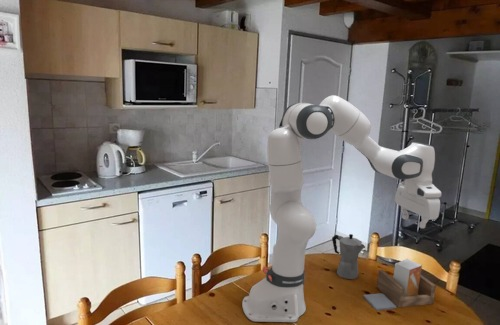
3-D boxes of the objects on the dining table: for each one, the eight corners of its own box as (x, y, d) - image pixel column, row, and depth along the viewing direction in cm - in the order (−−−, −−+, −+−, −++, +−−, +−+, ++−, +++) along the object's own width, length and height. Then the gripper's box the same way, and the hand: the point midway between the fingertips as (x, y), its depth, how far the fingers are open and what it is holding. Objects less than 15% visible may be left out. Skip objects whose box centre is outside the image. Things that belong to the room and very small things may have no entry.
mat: (376, 310, 128) (376, 308, 128) (363, 296, 137) (363, 294, 137) (396, 308, 130) (396, 306, 130) (382, 295, 139) (382, 293, 138)
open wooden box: (398, 307, 131) (400, 288, 129) (377, 287, 144) (379, 270, 143) (433, 303, 134) (435, 285, 133) (409, 284, 147) (411, 267, 146)
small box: (405, 302, 134) (409, 269, 132) (390, 294, 139) (394, 263, 137) (418, 296, 139) (422, 264, 136) (403, 288, 144) (407, 258, 142)
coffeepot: (367, 276, 153) (371, 236, 149) (355, 283, 146) (359, 242, 143) (335, 263, 164) (339, 226, 160) (323, 270, 157) (327, 230, 154)
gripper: (392, 180, 140) (389, 214, 143) (429, 194, 121) (424, 233, 123) (407, 180, 142) (403, 213, 144) (445, 194, 122) (440, 232, 125)
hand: (413, 222), depth 134 cm, fingers open, 8 cm apart
